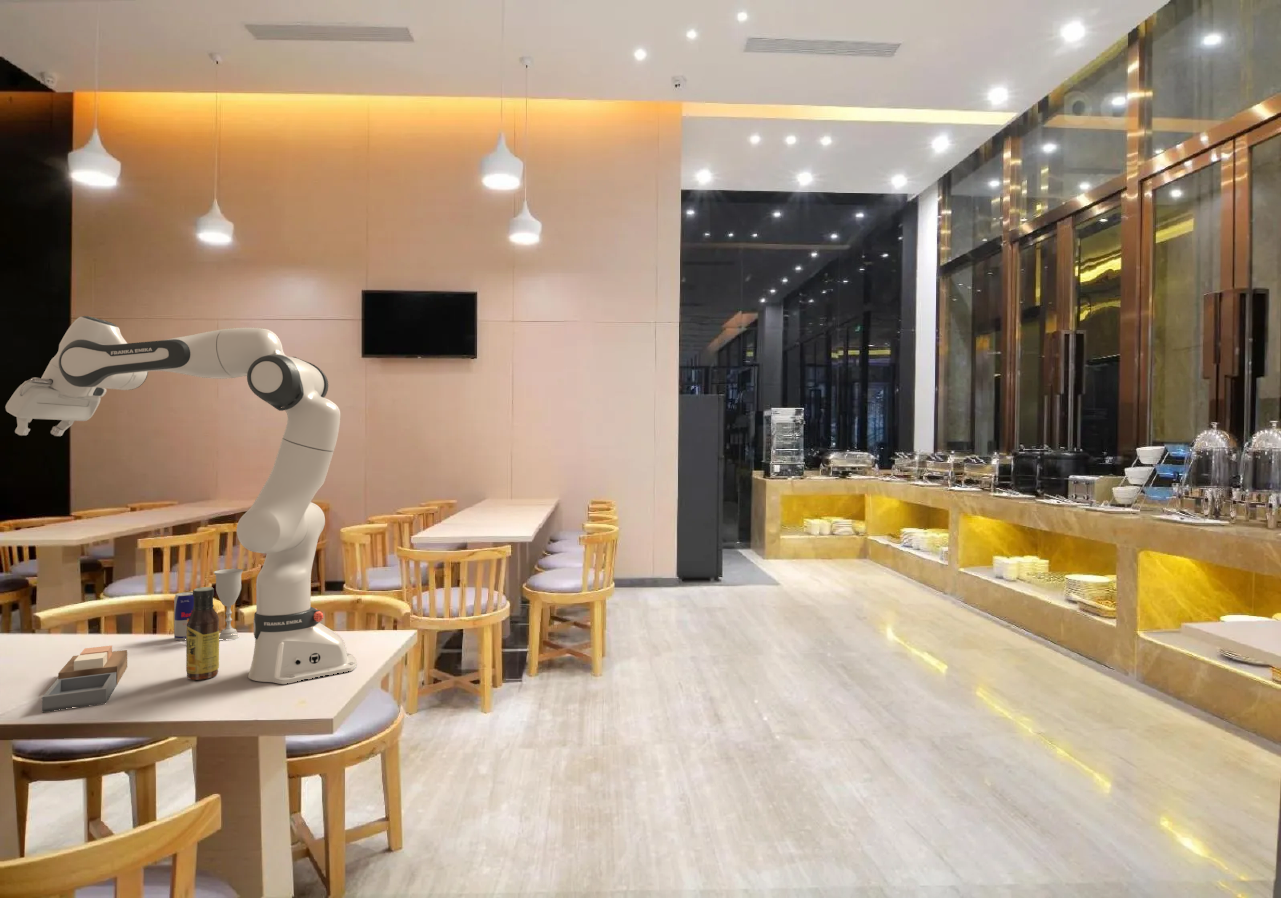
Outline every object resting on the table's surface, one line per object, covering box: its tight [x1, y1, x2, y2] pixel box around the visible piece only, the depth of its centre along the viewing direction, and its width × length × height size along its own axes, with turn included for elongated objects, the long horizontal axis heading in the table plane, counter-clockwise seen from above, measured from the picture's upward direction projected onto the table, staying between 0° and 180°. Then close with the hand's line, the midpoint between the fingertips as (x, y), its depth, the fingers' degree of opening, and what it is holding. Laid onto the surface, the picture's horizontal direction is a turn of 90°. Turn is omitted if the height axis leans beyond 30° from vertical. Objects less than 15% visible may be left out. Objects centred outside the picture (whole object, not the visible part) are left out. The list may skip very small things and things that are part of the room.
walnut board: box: [57, 649, 128, 686], centre depth 157 cm, size 10×14×4 cm
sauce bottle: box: [185, 586, 220, 681], centre depth 159 cm, size 6×6×20 cm
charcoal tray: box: [41, 672, 117, 712], centre depth 145 cm, size 10×12×3 cm
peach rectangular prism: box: [79, 645, 113, 660], centre depth 159 cm, size 5×5×2 cm
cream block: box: [74, 652, 107, 671], centre depth 154 cm, size 5×5×2 cm
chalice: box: [213, 568, 244, 641], centre depth 191 cm, size 7×7×18 cm
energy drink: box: [173, 591, 194, 641], centre depth 191 cm, size 5×5×12 cm
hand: (38, 434), depth 162 cm, fingers open, 8 cm apart
